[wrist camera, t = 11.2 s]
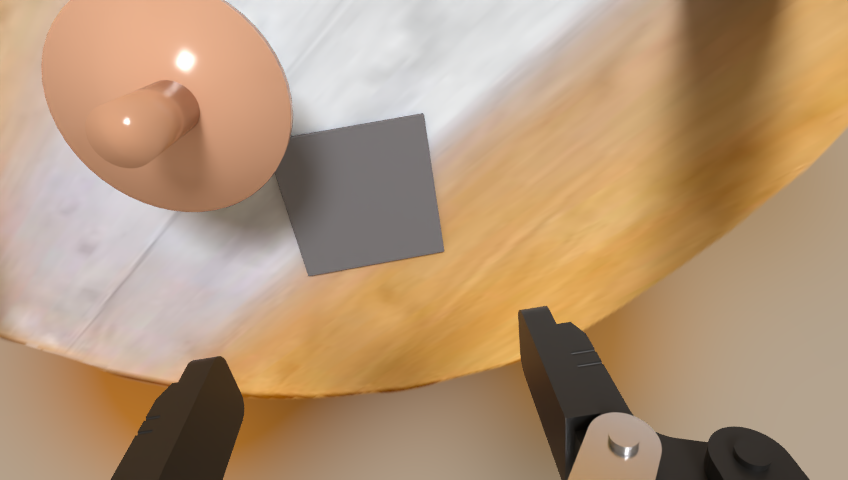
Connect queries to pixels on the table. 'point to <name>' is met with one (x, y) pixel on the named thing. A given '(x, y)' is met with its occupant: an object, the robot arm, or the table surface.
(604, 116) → the table surface
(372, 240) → the mat
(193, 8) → the lid
